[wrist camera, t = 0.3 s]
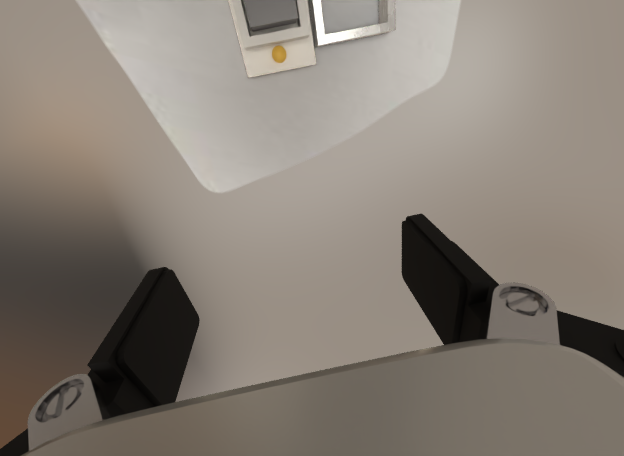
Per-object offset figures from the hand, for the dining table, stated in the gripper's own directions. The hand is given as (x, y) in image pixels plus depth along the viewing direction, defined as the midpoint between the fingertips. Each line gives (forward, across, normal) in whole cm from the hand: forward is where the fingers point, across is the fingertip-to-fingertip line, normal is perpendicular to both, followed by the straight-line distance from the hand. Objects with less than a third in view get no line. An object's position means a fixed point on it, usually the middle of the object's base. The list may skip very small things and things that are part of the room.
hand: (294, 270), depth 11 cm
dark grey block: (+25, -2, -13) cm, 28 cm away
